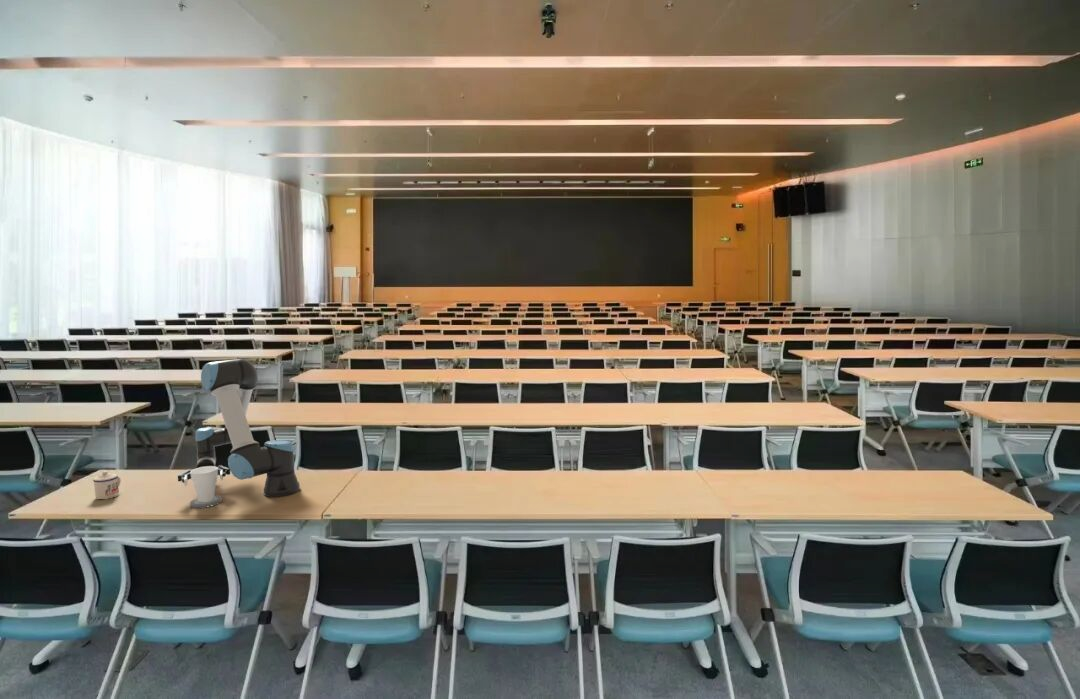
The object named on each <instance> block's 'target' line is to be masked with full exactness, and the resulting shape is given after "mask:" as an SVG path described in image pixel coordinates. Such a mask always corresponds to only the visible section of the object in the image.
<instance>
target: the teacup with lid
mask: <svg viewBox="0 0 1080 699" xmlns="http://www.w3.org/2000/svg"><path fill="white" fill-rule="evenodd" d="M121 481H122V480H121V478H120V477H119V475H118V474H116V473H111V472H108V470H104V471H102V473H100V474H99V475H97V476H95V477H94V478H93V480H92V482H93V483H94V484H93V487H94V495H95V499H96V500H98V499H105V500H109V499H108V498H110V499H112V498H113V497H114V498H116V497H118V496H119V495H120V493H119V492H120V491H119V487H120V485H121ZM114 498H113V499H114Z"/></svg>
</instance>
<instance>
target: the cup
mask: <svg viewBox="0 0 1080 699" xmlns="http://www.w3.org/2000/svg"><path fill="white" fill-rule="evenodd" d="M217 467H218V466H216V465H215V466H206V467H200V468H196V467H195V468H194V469H191V471H190V474H191V482H192V485H193V487H194V489H195V493H196V496H197V498H198V501H199V502H209V501H212V500H214V496H215V492H216V485H217V481H218V476H219V475H218V468H217Z"/></svg>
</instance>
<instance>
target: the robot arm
mask: <svg viewBox="0 0 1080 699" xmlns="http://www.w3.org/2000/svg"><path fill="white" fill-rule="evenodd" d="M258 377H259V376H258V371H257V369H256V367H255V365H254V364H252V363H251V362H250V361H249V360H247V359H244V358H243V359H242V358H235V359H229V360H228V359H227V360H219V361H216V360H215V361H211V362H207V363H205V364H204V365H203V366H202V369H201V372H200V382H201V385H202V388H203V389H205V390H207V391H209V392H210V394H211V395H212V396H214V397H216V400H217V403H218V406H219V409H220V413H221V415H222V419H223V421H224V425H225V426H224V428H220V429H216V430H214V429H213V427H211V426H210V427H200V428H198V429H196V430H195V439H194V440H195V445H196V458H197V462H196V467H195V469H196V468H200V467H206V466H215V467H217V468H218V476H220V481H223V480H224V479H223V478H224V477H226V475H228V476H230V475H231V474H232V476H233V477H234V478H236V479H238V480H240V481H241V480H243V481H244V480H246V479H247V480H248V479H252V478H254V477H258V476H262V475H264V474H265V475H266V479H265V482H264V483H265V484H264V487H263V495H264V494H265V495H266V497H269V496H272V497H273V498H277V497H286V496H290V495H293V494H296V493H298V492H299V491H300V490H301V488H300V487H301V486H300V482H299V481H298V478H297V476H296V475H297V474H296V473H295V458H294V457H295V456H294V446H293V443H292V442H290V441H288V440H279V439H278V440H266V442H264V445H263V446H260V443H259V442H258V441H256V440H255V439H254V437H253V434H252V431H251V428H250V425H249V422H248V419H247V416H246V415H247V411H248V408H249V404H250V401H251V397H252V394H253V392H254V391H253V390H255V389H256V388H257V384H258V380H259V379H258ZM228 444H231V446H232V448H231V450H230V455H229V456H228V458H227V462H228V463H227V465H228V467H227V466H223V465H222V464H219V465H218V466H216V462H217V456H216V448H215V447H218V446H223V445H224V446H225V445H228ZM191 470H192V469H191V468H188V469H186V471H184V472H181V473H180V474H178V475H177V481H178V482H181V483H183V484H184V487H185V486H187V485H188V481H189V480H190V479H191V474H190V471H191ZM191 480H192V479H191ZM265 495H264V496H265Z"/></svg>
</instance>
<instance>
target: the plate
mask: <svg viewBox="0 0 1080 699" xmlns="http://www.w3.org/2000/svg"><path fill="white" fill-rule="evenodd" d="M222 501H223V500H222V496H219V495H214V500H212V501H209V502H199V501H198V497H196V498H193V499H192V500H190V502H189V506H191V507H190V508H192V509H203V508H202V507H206V508H208V507H207V506H211V505H214V506H216V505H215V504H217V503H219V504H220V503H222ZM217 505H218V504H217ZM211 507H212V506H211Z"/></svg>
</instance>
